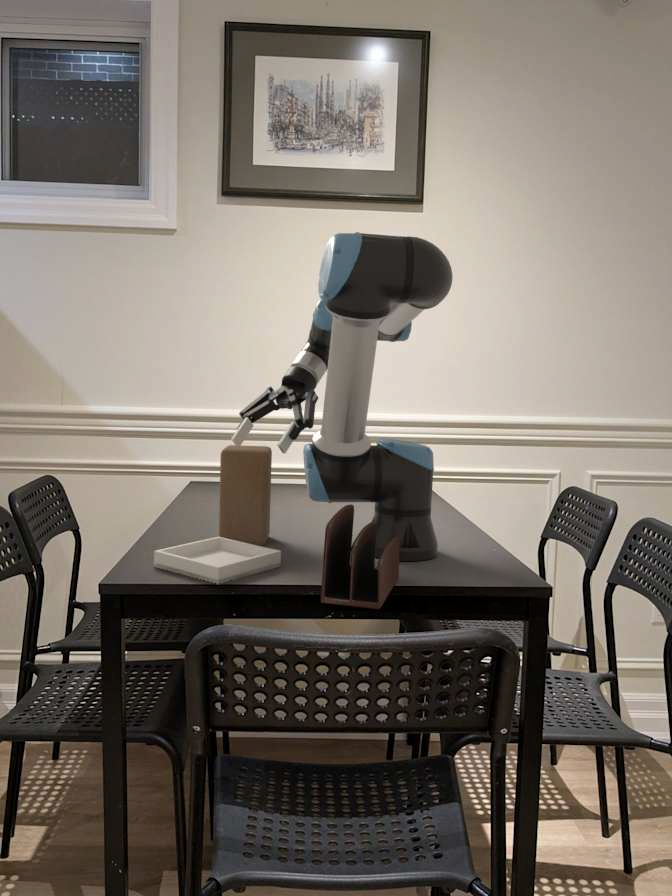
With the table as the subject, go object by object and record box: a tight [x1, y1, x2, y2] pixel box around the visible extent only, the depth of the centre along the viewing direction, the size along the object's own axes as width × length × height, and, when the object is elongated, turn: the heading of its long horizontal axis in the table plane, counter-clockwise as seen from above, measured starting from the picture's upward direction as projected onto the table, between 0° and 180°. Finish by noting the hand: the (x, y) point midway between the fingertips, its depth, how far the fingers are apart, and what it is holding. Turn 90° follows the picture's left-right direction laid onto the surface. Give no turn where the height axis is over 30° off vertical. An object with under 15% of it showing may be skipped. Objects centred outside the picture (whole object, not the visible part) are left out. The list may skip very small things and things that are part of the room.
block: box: [218, 444, 273, 547], centre depth 169 cm, size 10×10×20 cm
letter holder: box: [320, 503, 400, 610], centre depth 137 cm, size 10×20×14 cm, turn 167°
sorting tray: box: [153, 536, 282, 585], centre depth 149 cm, size 17×17×3 cm
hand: (257, 446), depth 173 cm, fingers open, 13 cm apart
